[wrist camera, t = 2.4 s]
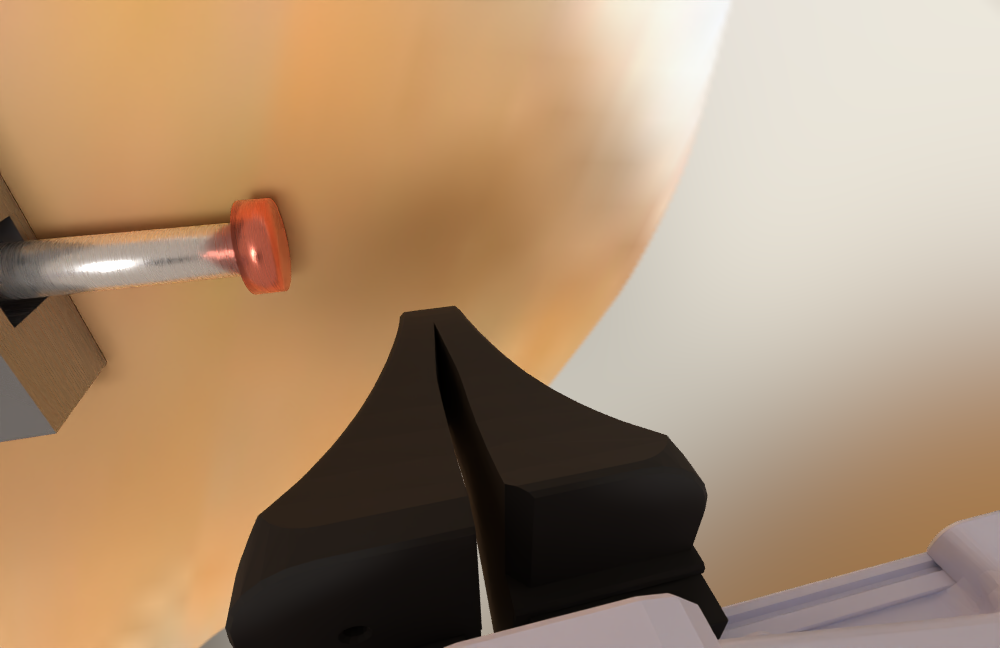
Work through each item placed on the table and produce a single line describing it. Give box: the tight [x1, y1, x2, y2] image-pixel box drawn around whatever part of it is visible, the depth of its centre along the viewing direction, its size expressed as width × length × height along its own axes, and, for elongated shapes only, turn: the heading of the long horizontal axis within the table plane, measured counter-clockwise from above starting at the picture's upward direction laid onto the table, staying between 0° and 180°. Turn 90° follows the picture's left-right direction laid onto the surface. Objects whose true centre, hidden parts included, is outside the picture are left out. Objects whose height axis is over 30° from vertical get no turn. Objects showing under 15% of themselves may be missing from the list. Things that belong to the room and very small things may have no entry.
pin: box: [0, 198, 291, 301], centre depth 16 cm, size 11×3×3 cm, turn 91°
